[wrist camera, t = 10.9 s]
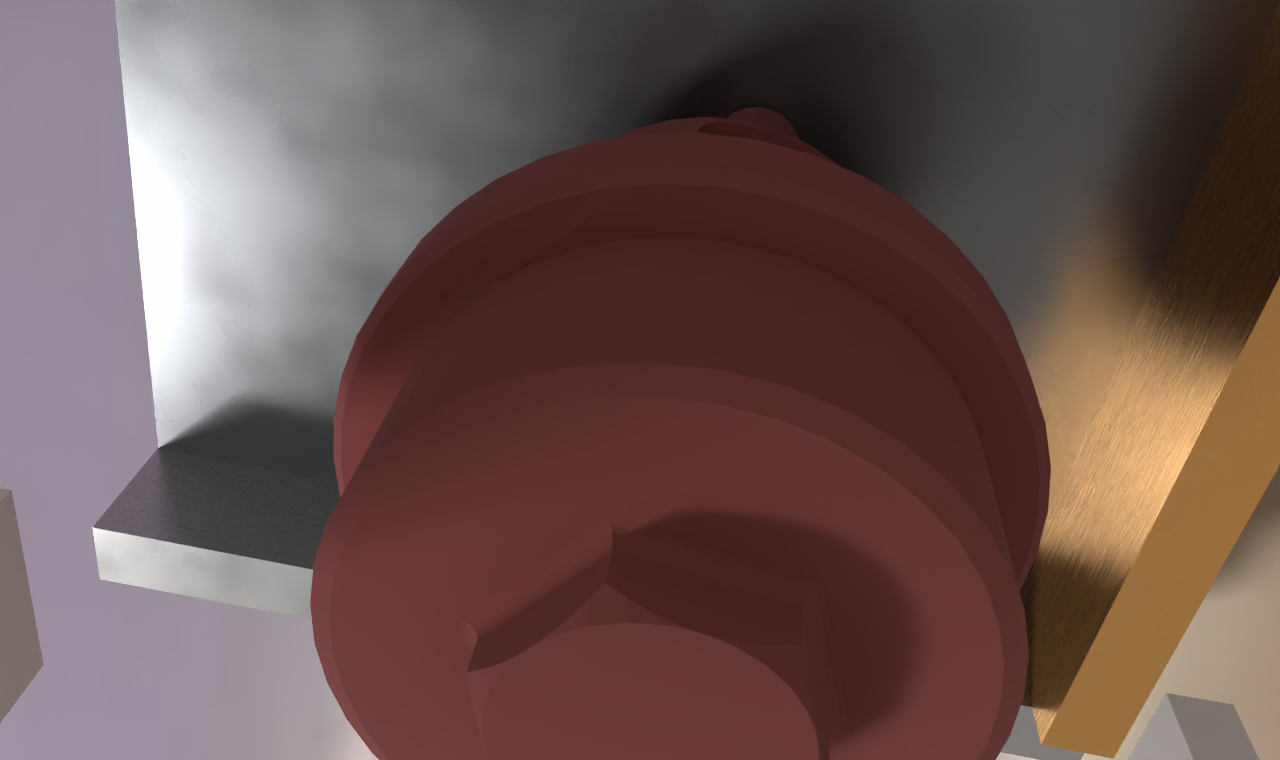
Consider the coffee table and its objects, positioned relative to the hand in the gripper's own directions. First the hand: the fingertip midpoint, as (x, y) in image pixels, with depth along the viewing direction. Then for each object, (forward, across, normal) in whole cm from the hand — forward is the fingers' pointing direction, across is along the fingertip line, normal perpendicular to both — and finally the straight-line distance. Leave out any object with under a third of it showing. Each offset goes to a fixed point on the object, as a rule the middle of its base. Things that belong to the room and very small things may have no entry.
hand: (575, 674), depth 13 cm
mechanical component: (+12, +1, 0) cm, 12 cm away
